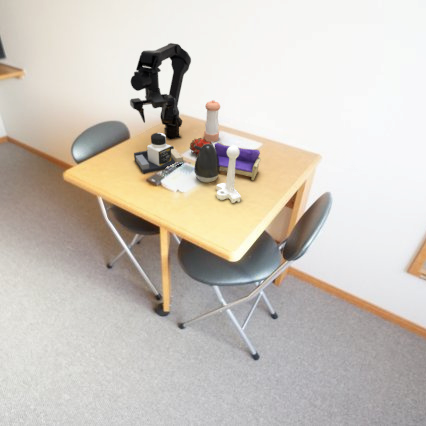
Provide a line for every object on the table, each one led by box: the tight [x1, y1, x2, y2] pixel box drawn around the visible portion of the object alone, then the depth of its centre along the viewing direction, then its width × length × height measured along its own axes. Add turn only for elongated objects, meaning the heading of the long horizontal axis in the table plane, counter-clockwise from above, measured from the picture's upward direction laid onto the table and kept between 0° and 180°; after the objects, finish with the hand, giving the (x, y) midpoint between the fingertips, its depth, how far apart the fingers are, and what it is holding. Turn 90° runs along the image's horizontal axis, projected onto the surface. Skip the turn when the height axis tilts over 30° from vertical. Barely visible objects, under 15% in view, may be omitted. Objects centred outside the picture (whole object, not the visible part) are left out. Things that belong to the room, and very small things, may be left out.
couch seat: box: [133, 145, 184, 175], centre depth 137 cm, size 18×12×4 cm, turn 117°
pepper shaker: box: [203, 99, 221, 143], centre depth 155 cm, size 7×7×19 cm
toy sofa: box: [213, 141, 262, 181], centre depth 132 cm, size 21×9×10 cm, turn 70°
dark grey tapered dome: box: [193, 144, 221, 183], centre depth 125 cm, size 10×10×15 cm
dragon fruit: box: [189, 137, 214, 156], centre depth 145 cm, size 8×8×12 cm
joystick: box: [216, 145, 242, 204], centre depth 114 cm, size 11×8×20 cm
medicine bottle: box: [146, 132, 172, 166], centre depth 133 cm, size 7×7×12 cm
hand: (154, 121), depth 142 cm, fingers open, 9 cm apart
